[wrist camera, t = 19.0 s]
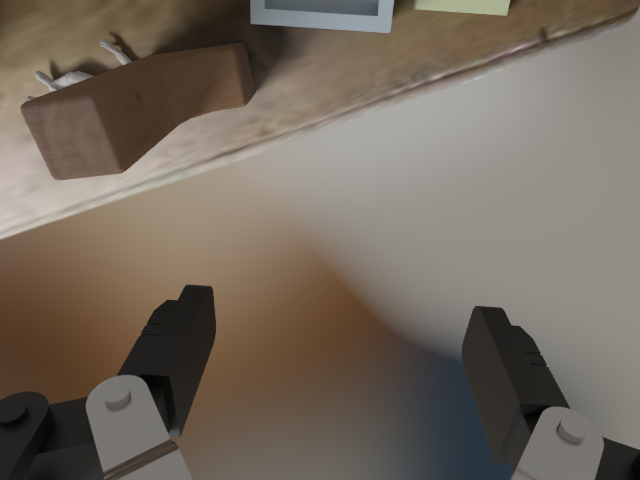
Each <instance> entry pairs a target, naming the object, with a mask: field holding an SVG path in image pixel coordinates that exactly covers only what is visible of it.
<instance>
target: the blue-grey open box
mask: <svg viewBox="0 0 640 480" xmlns="http://www.w3.org/2000/svg"><path fill="white" fill-rule="evenodd" d="M393 5H394V0H250V12H251V24H262V25H277V26H292V27H307V28H322V29H337V30H353V31H368V32H383V33H390V29H391V21H392V13H393Z"/></svg>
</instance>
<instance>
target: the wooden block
mask: <svg viewBox="0 0 640 480" xmlns="http://www.w3.org/2000/svg"><path fill="white" fill-rule="evenodd" d="M254 95H255V87H254V82H253V77H252V72H251V67H250V62H249V57H248V52H247V47H246V45H245V44H244V43H242V42H239V43H232V44H225V45H218V46H211V47H204V48H197V49H190V50H183V51H176V52H169V53H162V54H155V55H149V56H146V57H144V58H141V59H138V60H135V61H133V62H130V63H127V64H125V65H122V66H119V67H117V68H114V69H112V70H109V71H106V72H104V73H101V74H98V75H96V76H93V77H90V78H88V79H85V80H82V81H80V82H77V83H75V84H72V85H69V86H67V87H64V88H61V89H59V90H56V91H53V92H51V93H48V94H45V95H43V96H40V97H37V98H35V99H32V100H29V101H27V102H25V103H24V104H22V105H21V112H22V114H23V116H24V119H25V121H26V123H27V125H28V127H29V129H30V131H31V133H32V135H33V138H34V140H35V142H36V144H37V146H38V148H39V150H40V152H41V154H42V156H43V159H44V161H45V163H46V165H47V167H48V169H49V171H50V173H51V175H52V177H53V178H54V179H56V180H67V179H76V178H85V177H93V176H102V175H111V174H120V173H123V172H125V171H126V170H127V169H128V168H130V167H131V166H132V165H133V164H134V163H135V162H136V161H138V160H139V159H140V158H141V157H142V156H143V155H145V154H146V153H147V152H148V151H149V150H150V149H151V148H153V147H154V146H155V145H156V144H157V143H158V142H160V141H161V140H162V139H163V138H164V137H165V136H166V135H168V134H169V133H170V132H171V131H172V130H173V129H175V128H176V127H177V126H178V125H179V124H181V123H183V122H185V121H187V120H189V119H191V118H194V117H197V116H200V115H203V114H207V113H210V112H213V111H219V110H225V109H231V108H237V107H243V106H245V105H247V104H248V102H249V101H250V100H251V98H252V97H253V96H254Z"/></svg>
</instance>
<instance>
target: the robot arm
mask: <svg viewBox="0 0 640 480" xmlns="http://www.w3.org/2000/svg"><path fill="white" fill-rule="evenodd" d="M215 334H216V319H215V307H214V296H213V289H212V287H211V286H202V285H186V286H185V287H184V289H183V291H182V293H181V295H180V297H179V299H178V301H177V300H166V301H165V302H164V303H163V304H162V305H160V306H159V307H158V308H157V309H156V310H154V312H153V313H152V315H151V317H150V319H149V320H148V322H147V326H145V327H144V329H143V331H142V332H141V336H139V338H138V340H137V341H136V343H135V345H134V347H133V348H132V350H131V352H130V354H129V355H128V357H127V359H126V360H125V362H124V364H123V366H122V367H121V369H120V371H119V373H118V375H117V376H116V377H113V378H110V379H108V380H106V381H104V382H102V383H101V384H99V385H98V386H97V387H96V388H95V389H94V390H93V391H92V392H91V393H90V395H89V396H88V397H85V398H81V399H76V400H71V401H66V402H61V403H55V404H50V405H49V403H48V401H47V399H46V397H45V396H44V395H42V394H40V393H37V392H21V393H16V394H13V395H10V396H8V397H6V398H4V399H2V400H0V480H192V477H191V475H190V473H189V471H188V468H187V466H186V464H185V461H184V459H183V457H182V455H181V452H180V451H179V448H178V446H177V445H176V443H175V442H172V441H171V439H170V437H180V436H181V434H182V431H183V428H184V425H185V423H186V420H187V417H188V414H189V411H190V409H191V406H192V403H193V400H194V397H195V395H196V392H197V389H198V386H199V383H200V380H201V378H202V375H203V372H204V369H205V367H206V364H207V361H208V358H209V355H210V353H211V350H212V347H213V344H214V340H215ZM462 360H463V365H464V368H465V371H466V374H467V377H468V381H469V384H470V387H471V390H472V393H473V396H474V399H475V403H476V406H477V409H478V412H479V415H480V418H481V422H482V425H483V428H484V431H485V434H486V437H487V440H488V444H489V447H490V449H491V453H492V456H493V459H494V462H497V463H510V466H511V469H512V471H513V474H512V476H511V478H510V480H640V450H638V449H635V448H632V447H629V446H626V445H623V444H621V443H617V442H614V441H611V440H609V439H606V438H604V437H602V435H601V434H600V432H599V431H598V429H597V428H596V426H595V425H594V424H593V423H592V422H591V421H590V420H588V419H587V418H586V417H584V416H583V415H581V414H580V413H578V412H576V411H574V410H571V409H570V407H569V405H568V403H567V402H566V400H565V398H564V396H563V394H562V392H561V390H560V388H559V387H558V385H557V383H556V381H555V379H554V378H553V375H552V374H551V372H550V370H549V368H548V367H546V362H545V360H544V359H543V357H542V355H540V351H539V349H538V347H537V346H536V344H535V342H534V340H533V338H532V337H530V336H529V335H528V334H527V333H526V332H525V331H524V330H523V329H522V328H521V327H520V326H512V325H511V324H510V322H509V320H508V318H507V315H506V313H505V311H504V310H503V309H502V308H498V307H484V306H475V308H474V309H473V311H472V315H471V318H470V321H469V325H468V328H467V331H466V334H465V337H464V341H463V345H462Z"/></svg>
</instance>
